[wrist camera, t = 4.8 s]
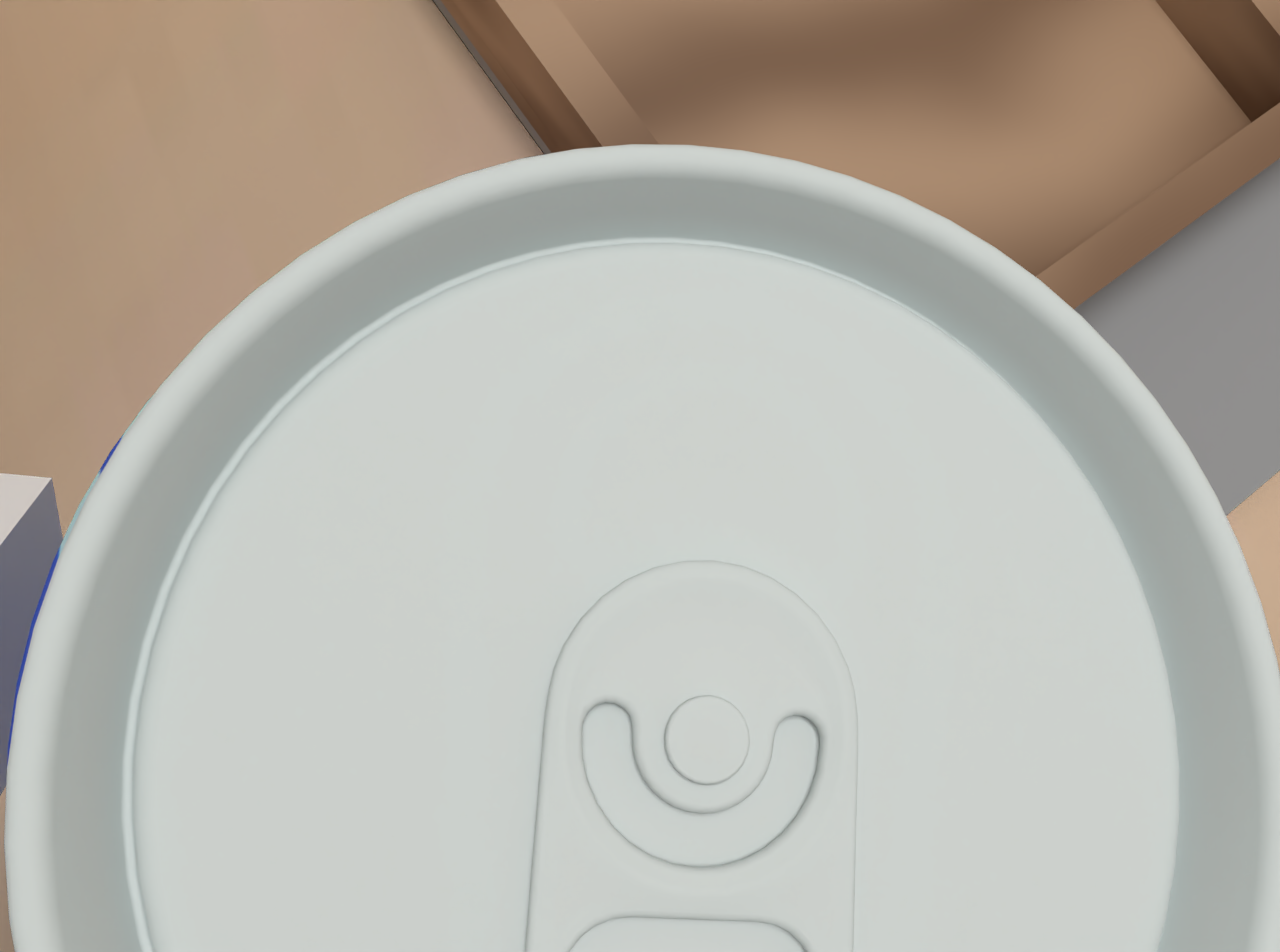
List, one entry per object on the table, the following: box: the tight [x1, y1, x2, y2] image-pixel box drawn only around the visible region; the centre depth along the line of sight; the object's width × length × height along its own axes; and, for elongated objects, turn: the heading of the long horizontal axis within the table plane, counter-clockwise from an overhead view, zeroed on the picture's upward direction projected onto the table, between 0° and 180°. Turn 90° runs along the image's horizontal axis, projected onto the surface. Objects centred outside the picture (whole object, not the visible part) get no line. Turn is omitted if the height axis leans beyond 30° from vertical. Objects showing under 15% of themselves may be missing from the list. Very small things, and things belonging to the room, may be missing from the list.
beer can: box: [4, 144, 1280, 952], centre depth 13 cm, size 8×8×16 cm
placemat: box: [433, 0, 1280, 515], centre depth 24 cm, size 24×16×1 cm, turn 36°
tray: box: [441, 0, 1280, 309], centre depth 23 cm, size 16×16×2 cm
